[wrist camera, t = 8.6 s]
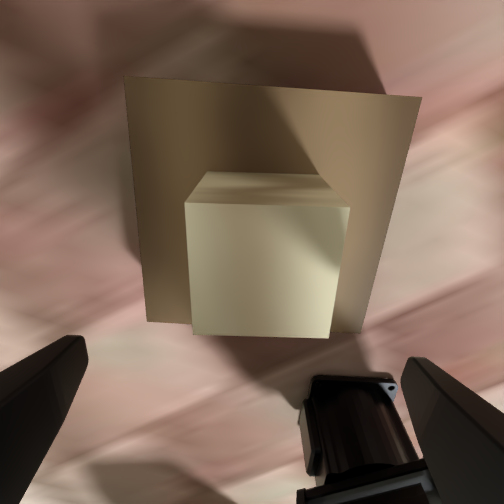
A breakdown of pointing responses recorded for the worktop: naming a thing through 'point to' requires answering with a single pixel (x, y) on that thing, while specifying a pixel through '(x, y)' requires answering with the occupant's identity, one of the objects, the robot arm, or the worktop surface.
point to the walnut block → (262, 170)
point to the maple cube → (264, 254)
